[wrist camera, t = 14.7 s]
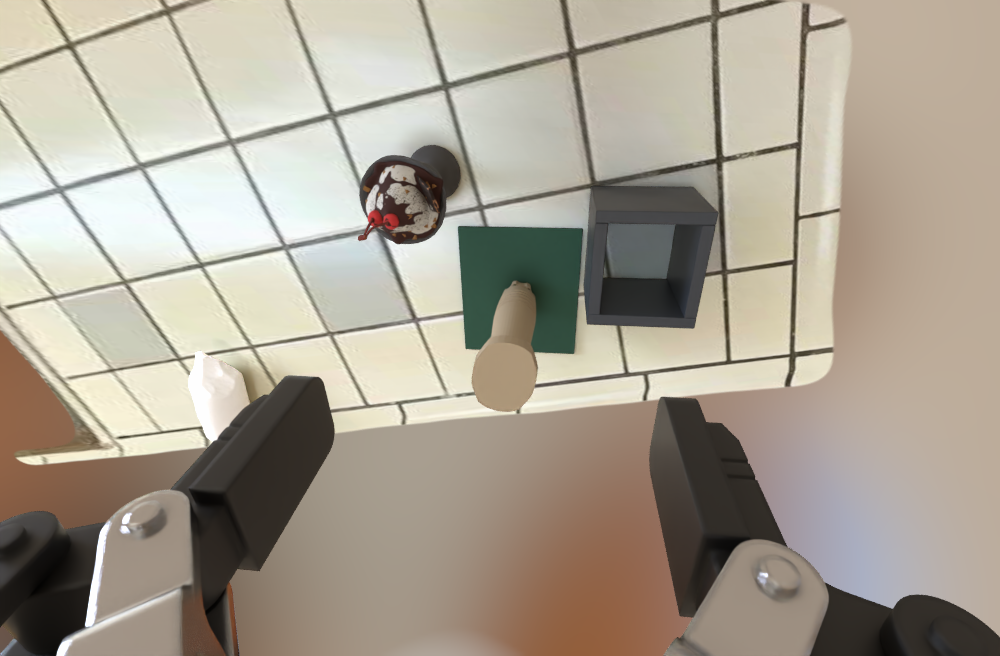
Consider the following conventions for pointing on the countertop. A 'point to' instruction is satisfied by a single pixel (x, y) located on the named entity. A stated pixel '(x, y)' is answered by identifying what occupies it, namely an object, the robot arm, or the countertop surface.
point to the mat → (521, 280)
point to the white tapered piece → (216, 393)
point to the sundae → (409, 194)
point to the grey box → (688, 261)
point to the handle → (508, 353)
